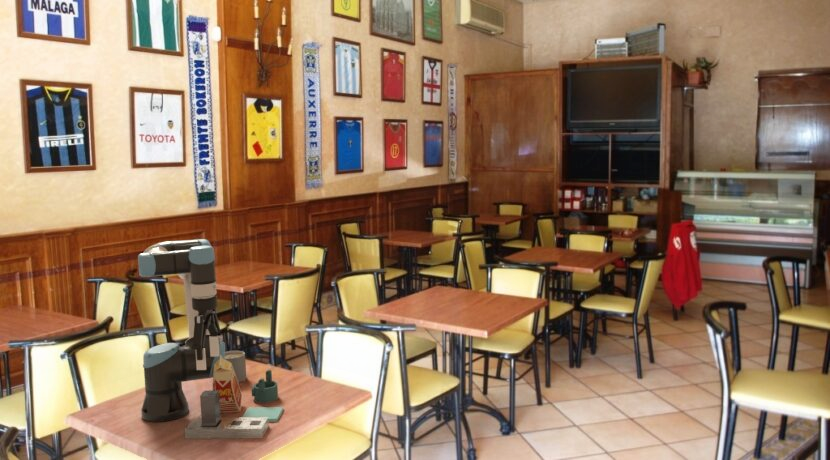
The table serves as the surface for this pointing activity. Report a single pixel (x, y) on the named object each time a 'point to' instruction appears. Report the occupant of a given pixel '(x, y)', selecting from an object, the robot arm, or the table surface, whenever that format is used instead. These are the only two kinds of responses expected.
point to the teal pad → (264, 412)
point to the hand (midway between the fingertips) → (208, 362)
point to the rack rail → (228, 428)
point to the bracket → (265, 389)
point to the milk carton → (226, 386)
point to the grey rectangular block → (210, 408)
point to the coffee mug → (237, 363)
